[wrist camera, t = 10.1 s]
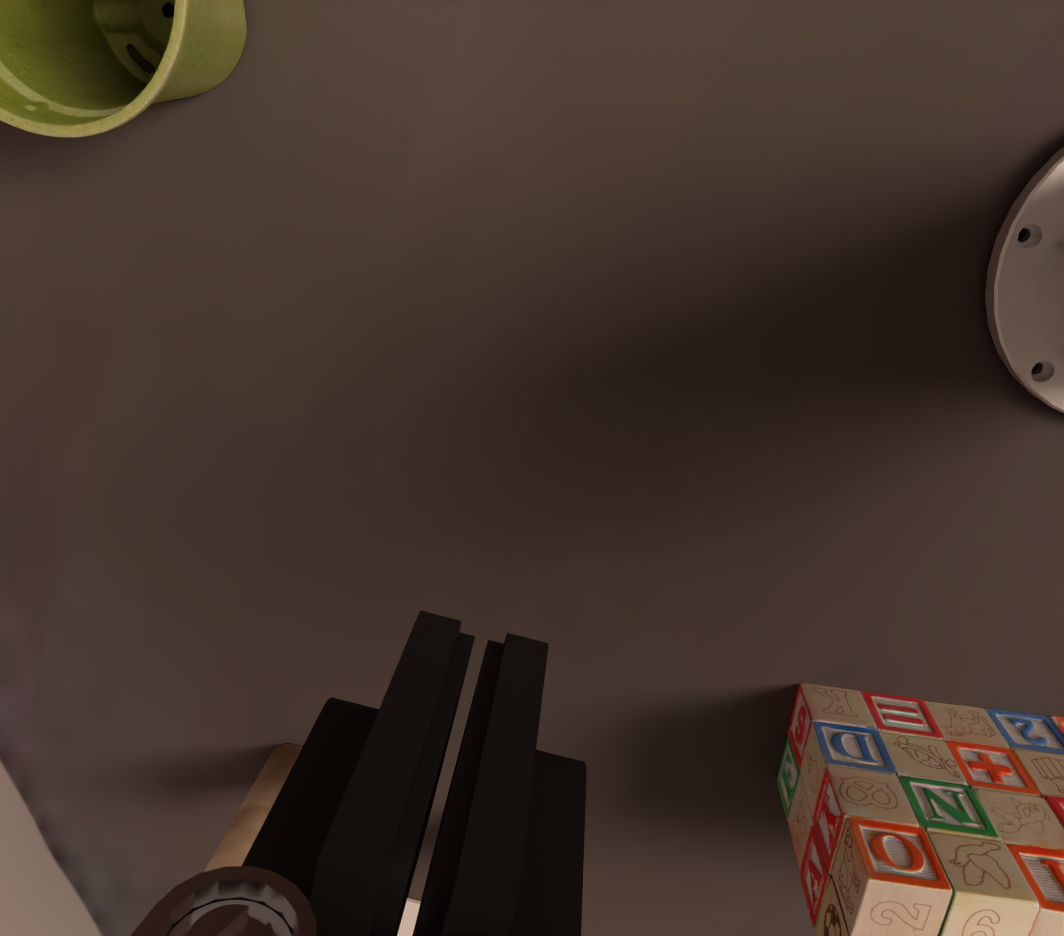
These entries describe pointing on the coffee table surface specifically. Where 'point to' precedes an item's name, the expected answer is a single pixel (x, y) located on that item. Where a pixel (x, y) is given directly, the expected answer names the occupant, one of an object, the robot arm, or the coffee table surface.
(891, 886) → the stack of blocks
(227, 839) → the post
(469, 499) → the coffee table surface
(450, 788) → the robot arm
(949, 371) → the coffee table surface
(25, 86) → the plant pot
